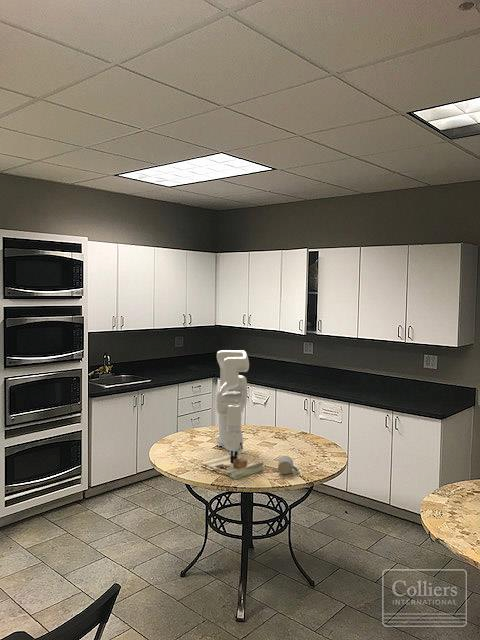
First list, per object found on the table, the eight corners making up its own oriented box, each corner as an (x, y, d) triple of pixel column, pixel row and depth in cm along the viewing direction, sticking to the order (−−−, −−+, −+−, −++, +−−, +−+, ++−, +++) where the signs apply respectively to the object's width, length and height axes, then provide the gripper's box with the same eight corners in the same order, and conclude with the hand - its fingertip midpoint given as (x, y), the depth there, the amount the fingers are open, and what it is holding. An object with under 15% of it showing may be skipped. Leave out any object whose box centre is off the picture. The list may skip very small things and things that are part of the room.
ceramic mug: (277, 474, 269) (278, 460, 268) (278, 469, 277) (278, 455, 277) (298, 476, 268) (299, 461, 267) (298, 470, 276) (299, 456, 275)
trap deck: (201, 466, 280) (201, 459, 280) (228, 458, 295) (228, 451, 294) (235, 479, 262) (235, 471, 262) (262, 469, 276) (263, 462, 276)
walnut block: (233, 467, 274) (233, 459, 274) (240, 464, 278) (240, 457, 277) (240, 469, 271) (240, 461, 270) (247, 467, 274) (247, 459, 274)
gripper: (219, 426, 279) (218, 461, 280) (239, 432, 268) (238, 467, 269) (229, 424, 284) (228, 457, 285) (249, 429, 273) (248, 464, 274)
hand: (233, 462), depth 277 cm, fingers closed
